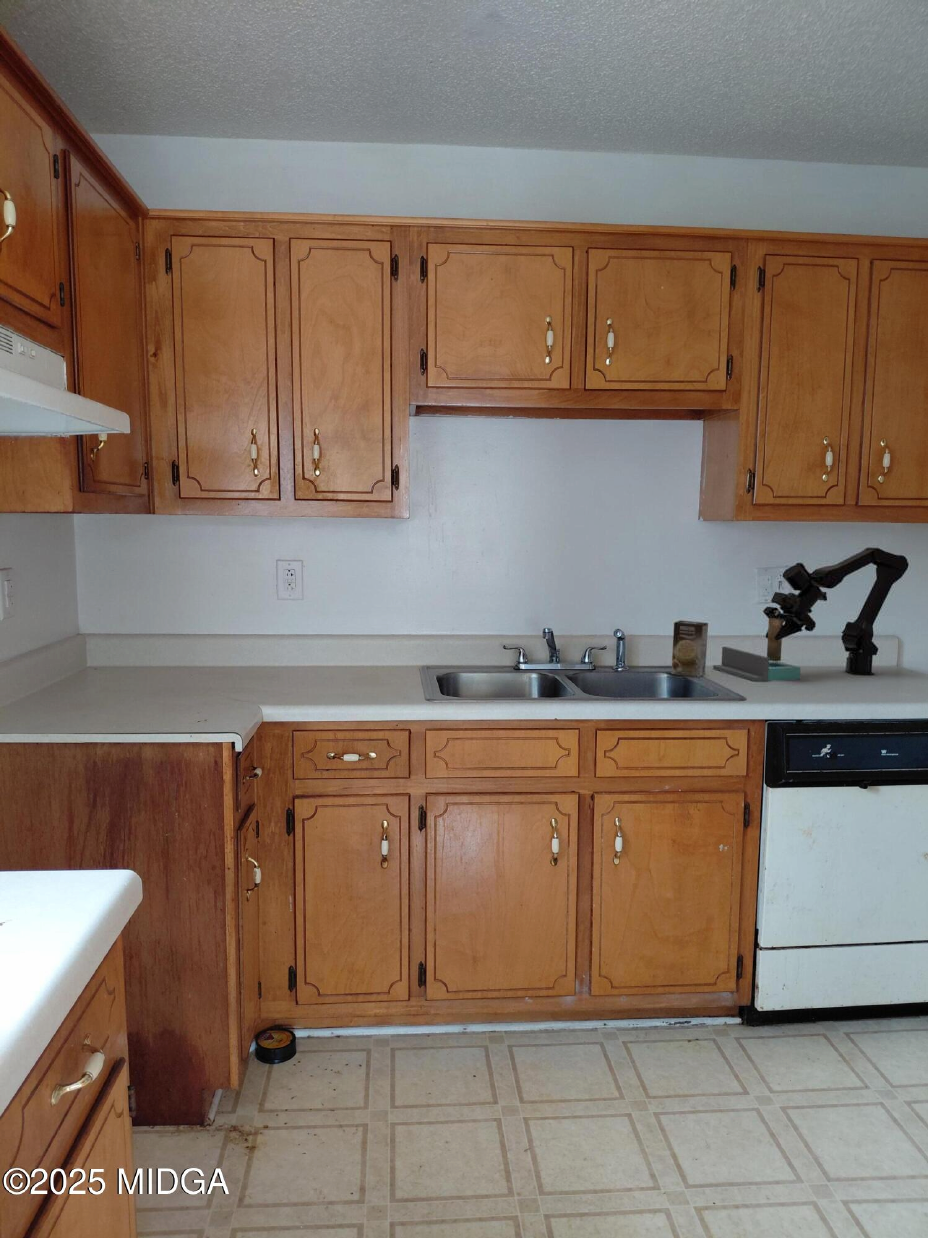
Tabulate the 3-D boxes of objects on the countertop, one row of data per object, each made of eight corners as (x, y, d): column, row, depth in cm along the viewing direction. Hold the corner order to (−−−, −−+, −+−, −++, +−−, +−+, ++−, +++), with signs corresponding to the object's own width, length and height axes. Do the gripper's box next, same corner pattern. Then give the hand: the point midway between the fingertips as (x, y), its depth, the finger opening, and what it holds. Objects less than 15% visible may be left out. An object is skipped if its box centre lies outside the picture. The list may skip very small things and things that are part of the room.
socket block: (776, 674, 269) (777, 661, 269) (799, 680, 259) (800, 667, 258) (745, 675, 266) (746, 662, 266) (768, 682, 256) (768, 668, 255)
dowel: (781, 659, 263) (783, 618, 262) (780, 661, 259) (782, 619, 258) (767, 658, 265) (769, 617, 263) (766, 660, 261) (768, 619, 259)
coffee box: (670, 674, 264) (672, 622, 263) (677, 671, 270) (679, 620, 268) (700, 677, 260) (702, 624, 258) (706, 674, 265) (708, 622, 263)
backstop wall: (725, 668, 276) (726, 646, 275) (768, 681, 255) (769, 657, 254) (713, 668, 275) (714, 647, 274) (754, 681, 254) (755, 658, 253)
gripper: (769, 580, 269) (737, 616, 267) (809, 585, 251) (774, 624, 250) (790, 605, 272) (758, 641, 271) (830, 611, 255) (796, 650, 253)
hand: (770, 638), depth 261 cm, fingers closed on dowel, 4 cm apart
